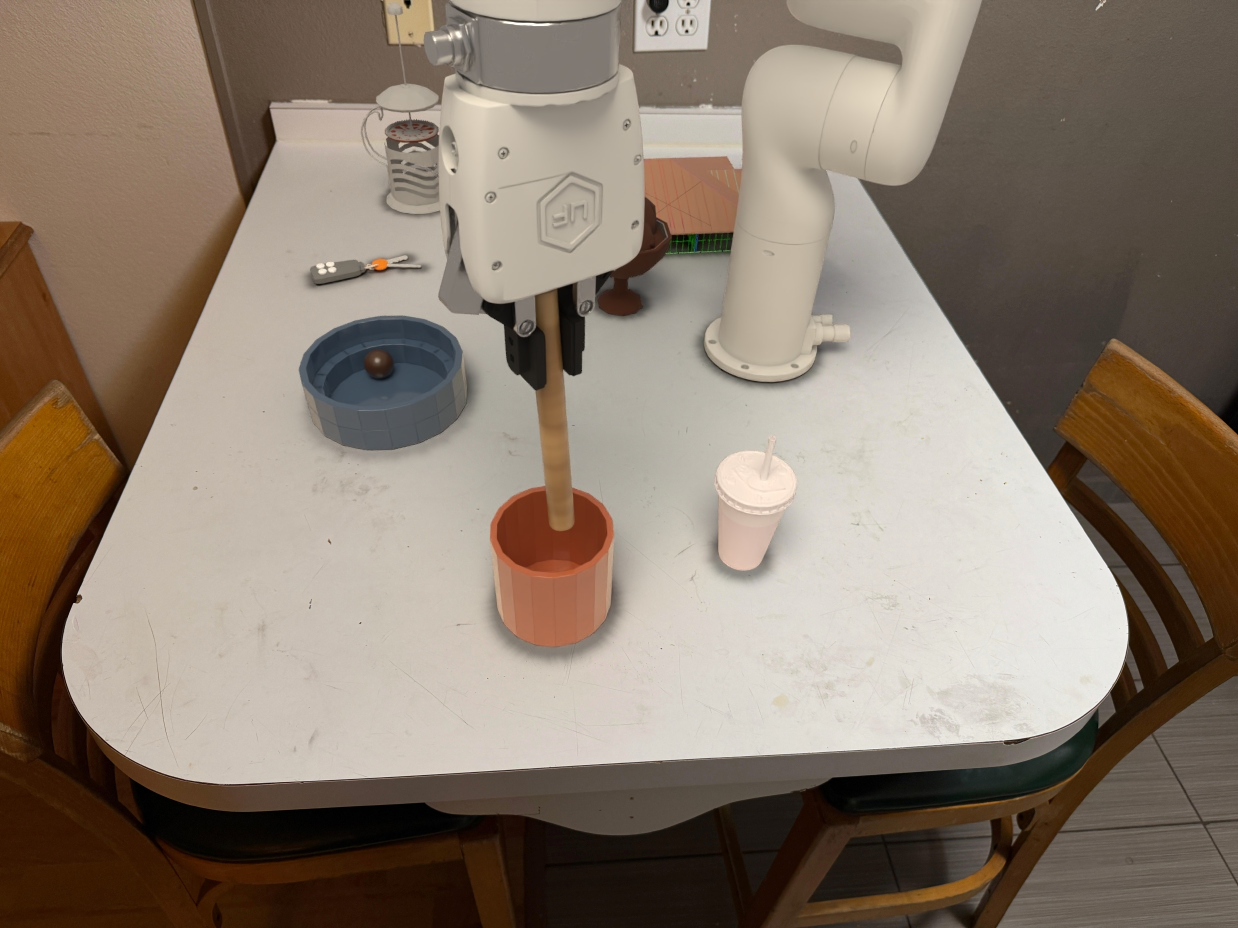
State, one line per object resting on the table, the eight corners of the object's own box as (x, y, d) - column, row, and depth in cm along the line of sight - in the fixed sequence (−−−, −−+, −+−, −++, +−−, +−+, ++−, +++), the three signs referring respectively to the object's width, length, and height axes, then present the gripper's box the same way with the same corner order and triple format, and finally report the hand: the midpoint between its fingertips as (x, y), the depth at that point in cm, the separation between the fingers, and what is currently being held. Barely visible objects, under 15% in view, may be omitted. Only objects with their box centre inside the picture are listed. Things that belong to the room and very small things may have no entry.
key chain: (315, 288, 98) (312, 278, 97) (310, 273, 100) (307, 263, 99) (422, 269, 102) (420, 258, 101) (414, 255, 105) (413, 244, 104)
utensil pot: (605, 557, 69) (608, 482, 63) (614, 648, 63) (618, 575, 57) (499, 561, 69) (492, 486, 62) (496, 654, 62) (488, 581, 56)
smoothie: (757, 598, 67) (788, 477, 57) (689, 564, 69) (707, 443, 60) (788, 548, 71) (822, 427, 61) (723, 518, 73) (745, 397, 64)
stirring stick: (572, 512, 58) (553, 278, 47) (577, 528, 56) (559, 291, 45) (547, 516, 58) (522, 282, 46) (551, 533, 56) (527, 296, 45)
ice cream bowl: (658, 334, 94) (668, 212, 83) (564, 320, 95) (562, 199, 85) (672, 286, 101) (683, 169, 91) (585, 274, 103) (585, 157, 92)
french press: (450, 215, 113) (427, 16, 95) (365, 212, 112) (327, 12, 95) (461, 184, 120) (441, -7, 102) (381, 181, 119) (348, -11, 102)
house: (786, 251, 109) (797, 193, 103) (538, 263, 104) (536, 203, 99) (741, 177, 125) (749, 123, 119) (526, 184, 120) (523, 128, 115)
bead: (375, 377, 82) (373, 387, 85) (401, 364, 84) (397, 374, 86) (359, 353, 82) (356, 364, 85) (384, 340, 84) (381, 351, 86)
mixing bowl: (470, 356, 89) (466, 314, 86) (463, 452, 78) (457, 408, 74) (326, 359, 88) (315, 316, 84) (298, 457, 77) (283, 412, 73)
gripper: (408, 101, 31) (456, 453, 44) (724, 42, 38) (686, 361, 51) (336, 46, 36) (399, 380, 48) (631, 2, 42) (618, 305, 55)
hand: (546, 368), depth 49 cm, fingers closed on stirring stick, 1 cm apart
